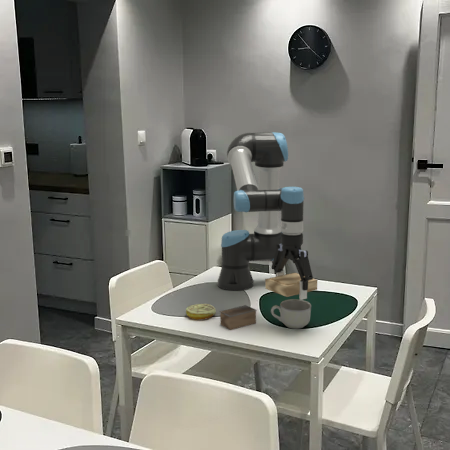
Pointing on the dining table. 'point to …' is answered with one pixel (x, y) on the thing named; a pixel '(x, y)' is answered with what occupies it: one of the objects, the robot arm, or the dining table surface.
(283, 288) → the cover board
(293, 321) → the teacup
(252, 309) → the brown rectangular block
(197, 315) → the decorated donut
